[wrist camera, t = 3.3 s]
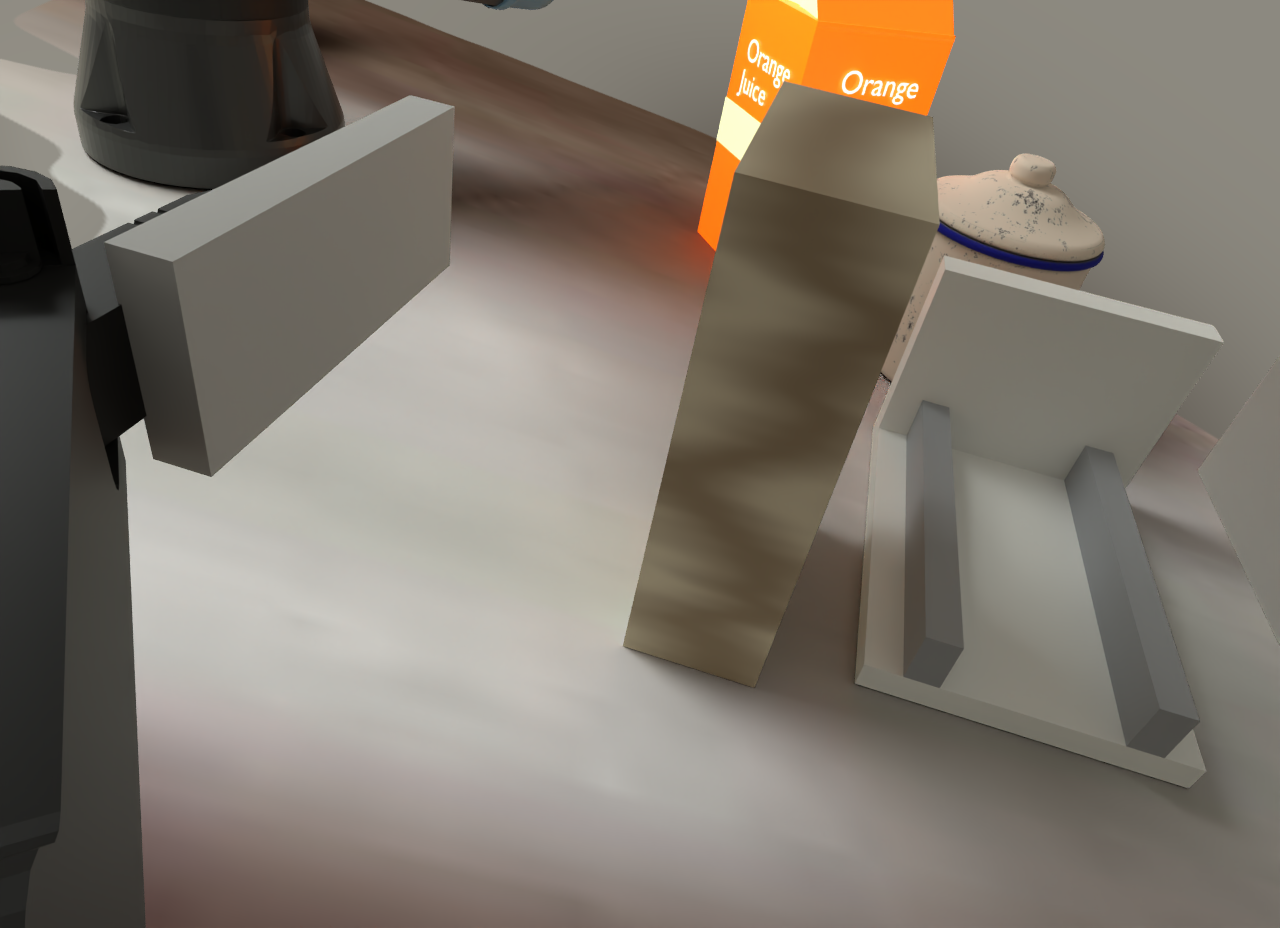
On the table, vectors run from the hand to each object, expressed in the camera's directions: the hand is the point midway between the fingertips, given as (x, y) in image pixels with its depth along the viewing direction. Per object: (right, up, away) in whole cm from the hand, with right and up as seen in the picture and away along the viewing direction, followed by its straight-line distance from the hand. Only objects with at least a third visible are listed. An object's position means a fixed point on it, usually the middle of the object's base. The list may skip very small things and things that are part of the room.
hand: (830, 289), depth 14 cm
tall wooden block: (0, -7, +18) cm, 19 cm away
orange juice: (+6, +10, +42) cm, 44 cm away
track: (+11, -7, +21) cm, 25 cm away
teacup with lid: (+13, +3, +34) cm, 37 cm away
